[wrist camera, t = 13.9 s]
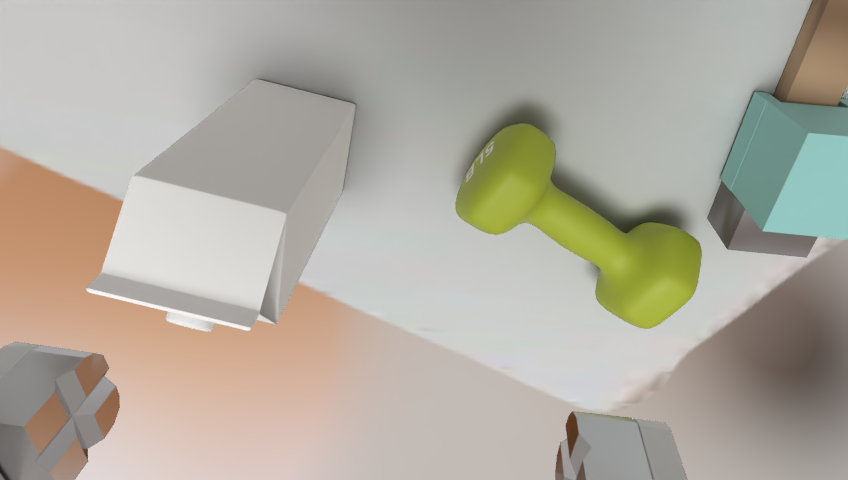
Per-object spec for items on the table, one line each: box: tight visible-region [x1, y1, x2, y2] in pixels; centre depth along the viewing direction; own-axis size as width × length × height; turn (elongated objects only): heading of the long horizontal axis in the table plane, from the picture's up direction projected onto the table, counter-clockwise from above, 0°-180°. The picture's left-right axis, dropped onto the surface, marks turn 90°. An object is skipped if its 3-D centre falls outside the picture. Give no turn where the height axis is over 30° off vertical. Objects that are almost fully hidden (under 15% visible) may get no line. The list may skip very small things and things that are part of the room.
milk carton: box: [86, 79, 356, 332], centre depth 31 cm, size 7×7×19 cm
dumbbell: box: [456, 123, 702, 329], centre depth 36 cm, size 16×8×7 cm, turn 57°
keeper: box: [720, 92, 848, 240], centre depth 32 cm, size 6×6×7 cm
